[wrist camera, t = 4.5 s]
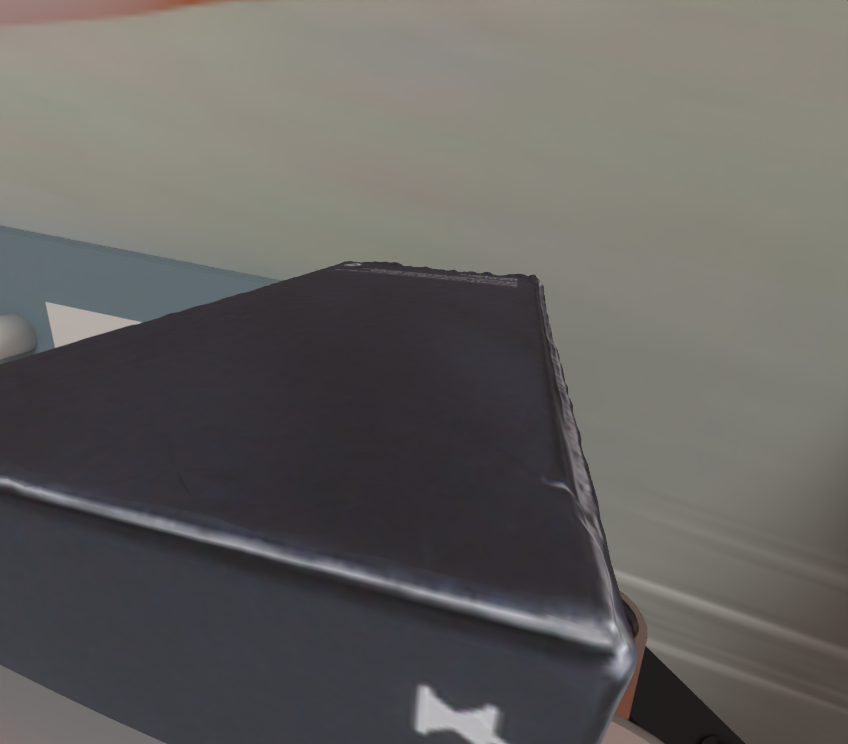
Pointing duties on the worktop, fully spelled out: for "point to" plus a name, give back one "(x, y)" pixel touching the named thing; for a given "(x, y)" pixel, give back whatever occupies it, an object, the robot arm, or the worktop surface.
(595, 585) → the small box
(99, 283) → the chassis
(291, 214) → the worktop surface
